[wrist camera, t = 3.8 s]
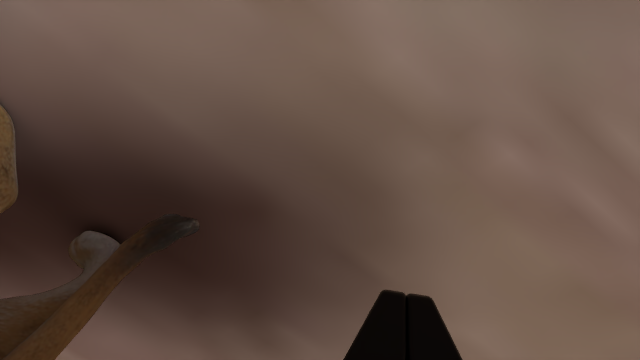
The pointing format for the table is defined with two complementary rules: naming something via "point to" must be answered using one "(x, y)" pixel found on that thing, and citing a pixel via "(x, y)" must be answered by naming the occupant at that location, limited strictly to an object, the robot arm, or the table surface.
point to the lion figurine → (81, 293)
